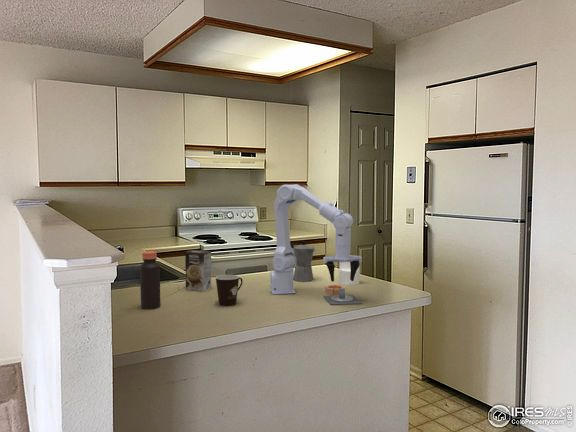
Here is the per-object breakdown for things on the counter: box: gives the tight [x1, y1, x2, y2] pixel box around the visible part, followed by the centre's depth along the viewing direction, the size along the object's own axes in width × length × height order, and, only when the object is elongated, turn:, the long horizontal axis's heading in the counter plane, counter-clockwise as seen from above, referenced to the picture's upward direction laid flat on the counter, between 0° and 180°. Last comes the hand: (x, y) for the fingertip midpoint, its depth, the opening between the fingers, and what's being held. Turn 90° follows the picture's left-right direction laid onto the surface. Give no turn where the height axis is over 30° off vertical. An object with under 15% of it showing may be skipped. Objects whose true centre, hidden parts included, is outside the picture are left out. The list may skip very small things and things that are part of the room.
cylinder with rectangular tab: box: [338, 262, 361, 286], centre depth 204 cm, size 9×9×12 cm
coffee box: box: [184, 249, 212, 293], centre depth 191 cm, size 9×6×16 cm
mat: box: [323, 294, 363, 306], centre depth 175 cm, size 12×12×1 cm
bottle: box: [139, 250, 162, 310], centre depth 165 cm, size 7×7×20 cm
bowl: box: [324, 284, 346, 296], centre depth 186 cm, size 8×8×2 cm
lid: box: [331, 287, 353, 302], centre depth 175 cm, size 8×8×4 cm
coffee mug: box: [215, 274, 243, 307], centre depth 170 cm, size 12×9×10 cm
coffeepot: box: [290, 240, 316, 283], centre depth 210 cm, size 15×9×18 cm, turn 44°
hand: (342, 280), depth 175 cm, fingers open, 7 cm apart
